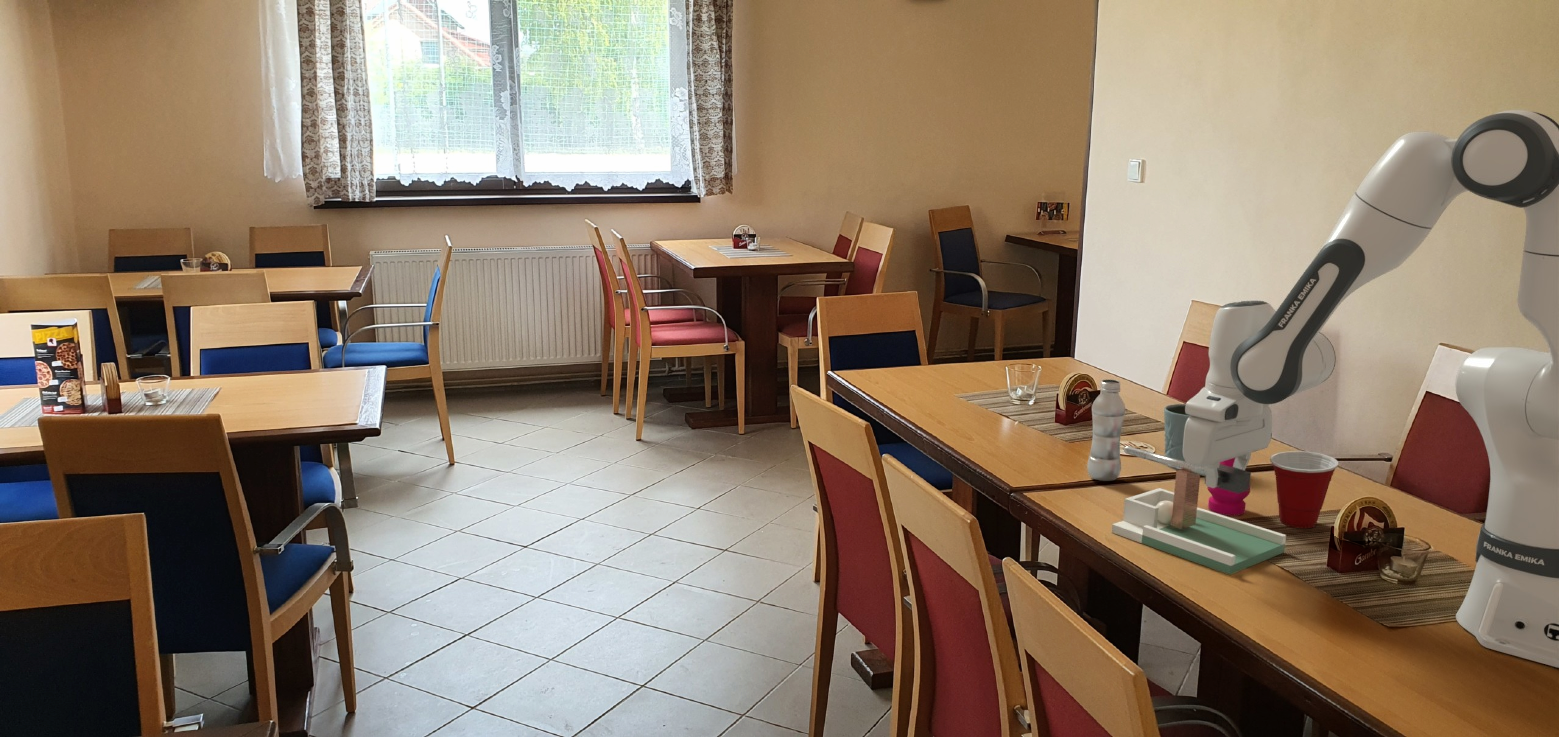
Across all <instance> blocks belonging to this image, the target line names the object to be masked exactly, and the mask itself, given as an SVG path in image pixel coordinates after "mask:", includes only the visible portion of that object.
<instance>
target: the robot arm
mask: <svg viewBox="0 0 1559 737" xmlns="http://www.w3.org/2000/svg"><path fill="white" fill-rule="evenodd" d="M1466 192H1470V193H1472V194H1474V195H1475V196H1476V195H1477V196H1478V197H1481V198H1484V199H1486V200H1491V201H1495V202H1499V203H1502V204H1505V205H1508V206H1512V207H1516V208H1523V210H1524V213H1525V219H1526V220H1525V221H1526V222H1525V223H1526V224H1525V225H1526V226H1525V236H1524V242H1523V252H1522V259H1521V268H1520V277H1519V284H1518V285H1519V286H1518V291H1517V301H1516V302H1517V306H1518V310H1519V312H1520V314H1521V315H1522V317H1524V319H1525V320H1527V321H1528V322H1529V323H1530V324H1531V325H1533V326H1534V327H1535V328H1536V329H1537V330H1538V331H1539V332H1540V334H1541V336H1542V337H1543V339H1544V341H1545V343H1546V345H1547V348H1548V352H1545V351H1541V350H1536V349H1530V348H1526V347H1520V346H1518V347H1517V346H1491V347H1488V346H1487V347H1481V348H1479V349H1477V350H1475V351H1473V352H1472V353H1471V354H1470V355H1469V356H1467V358H1466V359H1464V361H1463V362H1462V364H1461V365H1460V366H1459V368H1458V370H1457V374H1456V378H1455V392H1456V393H1455V394H1456V397H1457V400H1458V402H1459V404H1460V405H1461V406H1462V408H1464V409H1465V410H1466V411H1467V412H1468V415H1469V416H1471V418H1472V419H1473V421H1474V422H1475V425H1476V426H1477V428H1478V429H1479V433H1480V435H1481V436H1482V439H1483V443H1484V446H1485V449H1486V453H1487V456H1488V461H1489V468H1490V478H1489V479H1490V480H1489V481H1490V482H1489V490H1488V491H1489V492H1488V500H1487V509H1486V514H1485V515H1486V516H1485V521H1484V523H1482V524H1481V526H1480V529H1479V533H1478V536H1477V541H1476V546H1475V554H1476V555H1475V563H1476V566H1475V569H1474V572H1473V576H1472V578H1471V582H1470V585H1469V588H1468V591H1467V593H1466V595H1465V597H1464V599H1463V602H1462V603H1461V605H1460V607H1459V609H1458V611H1457V613H1456V614H1455V619H1456V621H1457V622H1458V623H1459V625H1460V626H1461V627H1462V628H1463V629H1465V630H1466V631H1468V632H1469V633H1470V634H1471V635H1473V636H1474V637H1475V638H1476V640H1477V641H1478V643H1479V644H1480V645H1481V646H1482V647H1484V648H1487V649H1489V650H1490V649H1491V650H1493V651H1497V652H1500V653H1504V654H1508V655H1510V656H1511V655H1512V656H1515V657H1518V658H1522V659H1526V660H1529V661H1533V662H1536V663H1540V664H1545V665H1548V666H1551V667H1553V668H1554V667H1555V668H1558V669H1559V123H1557V122H1556V120H1554V119H1553V118H1551V117H1549V116H1547V114H1546V115H1545V114H1542V113H1540V112H1537V111H1530V110H1525V109H1509V110H1503V111H1500V112H1496V113H1493V114H1491V115H1488V116H1484V117H1482V118H1479V119H1478V120H1476V121H1474V122H1472V123H1471V124H1470V125H1469V126H1468V127H1466V128H1465V129H1464V130H1463V131H1462V132H1461V133H1460V135H1459V137H1458V138H1451V137H1447V136H1444V135H1443V134H1440V133H1437V132H1433V131H1422V130H1421V131H1412V132H1407V133H1406V134H1403V135H1401V136H1400V137H1398V138H1397V139H1396V140H1395V141H1394V142H1393V143H1392V144H1391V145H1390V146H1389V148H1387V149H1386V151H1385V152H1384V153H1383V154H1382V155H1381V157H1380V158H1379V159H1378V160H1377V161H1376V162H1375V164H1374V165H1373V166H1372V168H1370V170H1369V172H1368V173H1367V174H1366V175H1365V177H1364V179H1362V181H1361V183H1360V185H1359V186H1358V188H1357V189H1356V190H1355V192H1354V194H1353V195H1352V196H1351V197H1350V200H1349V201H1348V203H1347V205H1346V206H1345V208H1344V210H1343V211H1342V213H1341V215H1340V216H1339V218H1338V220H1337V221H1336V223H1335V225H1334V226H1333V228H1332V230H1331V232H1330V234H1329V235H1328V236H1327V238H1326V240H1325V241H1324V242H1323V244H1322V246H1321V248H1320V249H1319V251H1318V252H1317V254H1316V256H1315V257H1314V259H1313V260H1312V261H1311V263H1310V264H1309V265H1308V266H1307V268H1306V269H1305V271H1303V273H1302V275H1300V277H1299V279H1298V280H1297V282H1296V283H1295V284H1294V286H1293V287H1292V289H1291V290H1290V292H1289V293H1288V294H1287V295H1286V297H1285V298H1284V300H1283V301H1282V303H1281V304H1280V305H1279V306H1278V308H1277V309H1274V307H1273V306H1272V305H1271V304H1270V303H1268V302H1267V301H1264V300H1244V301H1243V300H1241V301H1235V302H1234V301H1233V302H1230V303H1226V304H1224V305H1222V306H1221V307H1219V308H1218V309H1217V310H1216V313H1215V316H1214V318H1213V322H1212V323H1213V324H1212V325H1211V332H1210V338H1209V344H1208V345H1209V346H1208V358H1209V359H1208V360H1209V368H1208V372H1207V374H1206V377H1205V385H1204V386H1203V387H1202V388H1200V391H1198V392H1197V394H1195V395H1194V396H1193V397H1191V398H1190V399H1189V400H1187V402H1186V403H1185V404H1186V407H1185V413H1186V414H1188V415H1191V416H1190V417H1189V418H1188V419H1187V421H1186V424H1185V429H1184V439H1183V457H1184V459H1185V461H1186V462H1187V463H1189V464H1192V465H1196V466H1200V467H1203V469H1204V472H1205V475H1206V482H1205V481H1204V485H1205V486H1206V487H1207V486H1208V487H1211V488H1215V487H1218V486H1220V481H1221V476H1218V472H1217V468H1219V464H1220V462H1222V461H1226V460H1229V459H1232V458H1235V457H1236V458H1235V461H1234V464H1233V468H1236V469H1240V470H1244V471H1245V470H1246V468H1247V466H1248V465H1249V462H1250V460H1251V457H1252V453H1255V452H1258V451H1262V450H1265V449H1267V448H1268V447H1269V446H1270V444H1271V441H1272V432H1273V414H1272V413H1273V412H1272V408H1271V407H1270V406H1269V405H1274V404H1277V403H1280V402H1283V401H1285V400H1286V399H1288V398H1290V397H1292V396H1293V395H1296V394H1300V393H1302V392H1305V391H1307V390H1309V389H1312V388H1315V387H1317V386H1319V385H1321V384H1322V383H1325V381H1326V380H1328V379H1329V378H1330V377H1331V375H1332V374H1333V372H1334V370H1335V366H1336V361H1337V360H1336V351H1335V349H1334V346H1333V344H1332V343H1331V341H1330V340H1329V338H1328V337H1327V336H1326V335H1324V334H1323V333H1322V332H1321V331H1322V329H1323V328H1324V326H1325V325H1326V323H1327V322H1328V321H1329V320H1330V318H1331V317H1332V315H1333V314H1334V312H1336V310H1337V308H1338V307H1339V306H1340V305H1341V304H1342V302H1344V301H1345V299H1348V297H1349V296H1350V295H1351V294H1353V293H1354V292H1356V291H1357V290H1358V289H1360V288H1361V287H1363V286H1365V285H1366V284H1368V283H1370V282H1371V281H1373V280H1375V279H1377V278H1380V277H1382V276H1383V275H1386V274H1387V273H1389V272H1392V271H1393V270H1395V269H1397V268H1398V267H1400V266H1401V265H1402V264H1403V263H1404V262H1405V261H1407V259H1409V257H1410V256H1412V254H1413V253H1414V252H1416V251H1417V249H1418V248H1419V247H1420V246H1421V245H1422V244H1423V242H1424V241H1425V240H1426V238H1427V237H1428V235H1429V234H1430V232H1431V231H1432V230H1433V228H1434V227H1435V225H1436V224H1437V222H1438V220H1439V219H1440V218H1441V216H1442V215H1443V213H1444V212H1445V210H1446V209H1447V208H1448V206H1450V204H1451V203H1452V202H1454V201H1453V200H1455V199H1456V198H1457V197H1458V196H1460V195H1462V194H1463V193H1466Z"/></svg>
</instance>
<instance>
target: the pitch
mask: <svg viewBox="0 0 1559 737" xmlns="http://www.w3.org/2000/svg"><path fill="white" fill-rule="evenodd" d="M1161 501H1171V502H1173V501H1174V491H1170V490H1167V489H1164V488H1160V487H1159V488H1156V489H1155V488H1154V489H1152V490H1149V491H1145V492H1143V493H1140V494H1136V495H1132V496H1129V497H1127V498H1124V504H1123V505H1124V506H1123V515H1122V516H1123V518H1122V521H1118V522H1115V523H1111V533H1112V534H1114V535H1118V536H1120V537H1123V538H1126V539H1129V540H1132V541H1135V542H1136V543H1140V544H1142V545H1145V546H1149V547H1150V548H1154V549H1156V550H1160V551H1161V552H1162V551H1163V552H1165V553H1168V554H1170V555H1171V554H1172V555H1174V556H1175V557H1179V558H1181V559H1184V560H1186V561H1191V562H1193V563H1196V564H1198V565H1201V566H1203V567H1207V568H1210V569H1213V570H1215V571H1218V572H1221V573H1224V574H1226V575H1228V576H1230V575H1233V574H1236V573H1238V572H1240V571H1243V570H1245V569H1248V568H1250V567H1252V566H1254V565H1257V564H1260V563H1262V562H1264V561H1266V560H1269V559H1271V558H1273V557H1276V556H1278V555H1281V554H1284V553H1285V548H1286V539H1287V534H1284V533H1282V532H1277V531H1275V530H1271V529H1269V528H1268V529H1267V528H1264V527H1261V526H1259V525H1255V524H1252V523H1249V522H1246V521H1242V520H1239V519H1236V518H1233V517H1229V516H1228V515H1223V514H1219V513H1216V512H1213V511H1211V510H1209V509H1208V510H1207V509H1204V508H1201V507H1197V513H1196V523H1195V525H1193V526H1190V527H1187V528H1184V529H1179V528H1176V527H1173V526H1171V524H1163V523H1161V522H1159V521H1158V509H1159V507H1156V505H1157V504H1158V503H1159V502H1161Z"/></svg>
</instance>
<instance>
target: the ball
mask: <svg viewBox="0 0 1559 737" xmlns="http://www.w3.org/2000/svg"><path fill="white" fill-rule="evenodd" d="M1156 507H1159V509H1158V521H1159V522H1161V523H1163V524H1171V522H1172V512H1173V502H1171V501H1161V502H1159V503H1158V504H1157V505H1156Z"/></svg>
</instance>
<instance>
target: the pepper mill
mask: <svg viewBox="0 0 1559 737" xmlns="http://www.w3.org/2000/svg"><path fill="white" fill-rule="evenodd" d="M1235 458H1236V457H1235ZM1235 458H1232V459H1229V460H1226V461H1222V462H1220V464H1222V465H1225V466H1229V467H1233V464H1234V461H1235ZM1245 471H1247V470H1246V469H1245ZM1206 487H1207V490H1208V492H1209V493H1210V494H1211V496H1210V497H1209V498H1208V502H1207V503H1208V504H1207V507H1208V510H1209V511H1211V512H1214V513H1217V514H1220V515H1224V516H1242V515H1244V514H1245V513H1246V505H1247V503H1246V501H1244V500H1245V499H1246V498H1247V497H1248V496H1249V495H1250V493H1251V483H1250V484H1249V490H1248V491H1245V492H1242V493H1239V494H1238V493H1235V492H1231V491H1228V490H1224V489H1221V488H1218V487H1215V488H1211V487H1208V486H1206Z"/></svg>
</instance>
